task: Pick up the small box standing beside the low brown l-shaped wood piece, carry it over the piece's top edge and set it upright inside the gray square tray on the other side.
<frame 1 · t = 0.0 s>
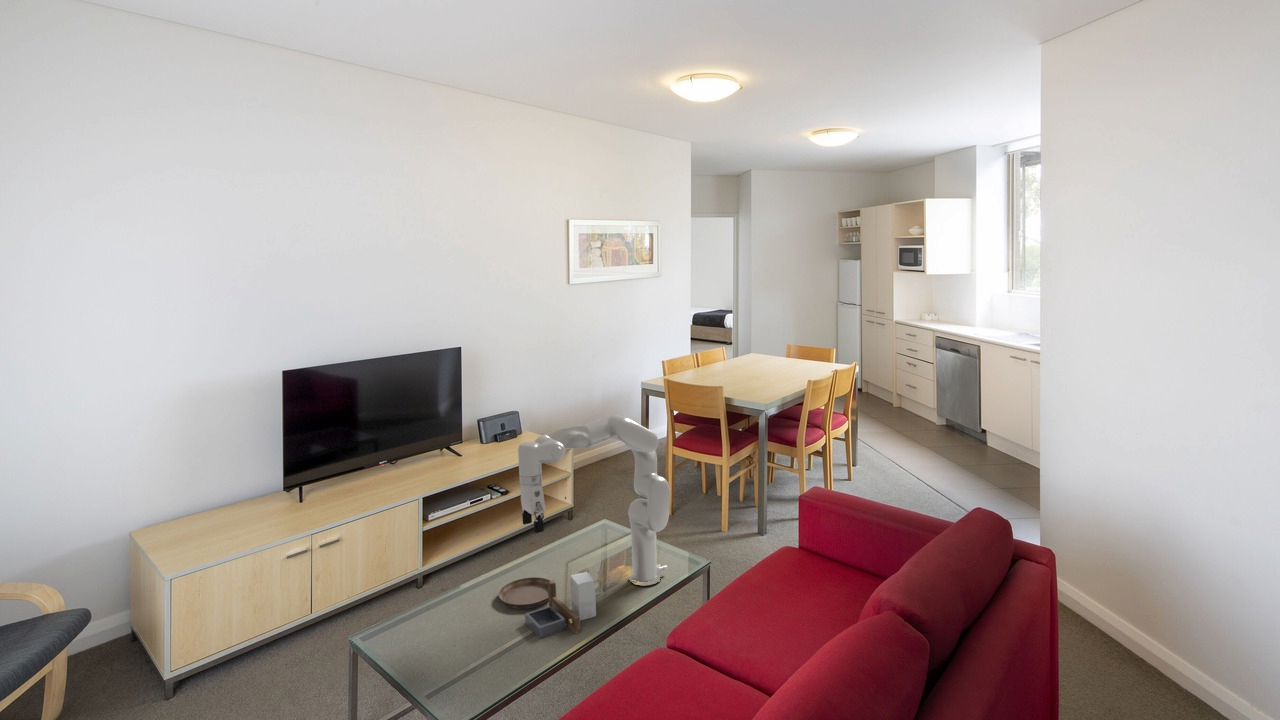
hand: (533, 527, 218), 31 cm above the table, fingers open, 9 cm apart
gray square tray: (545, 626, 213), on the table
brown l-shaped wood piece: (564, 620, 217), on the table
plant saucer: (527, 598, 234), on the table
small box: (583, 614, 221), on the table
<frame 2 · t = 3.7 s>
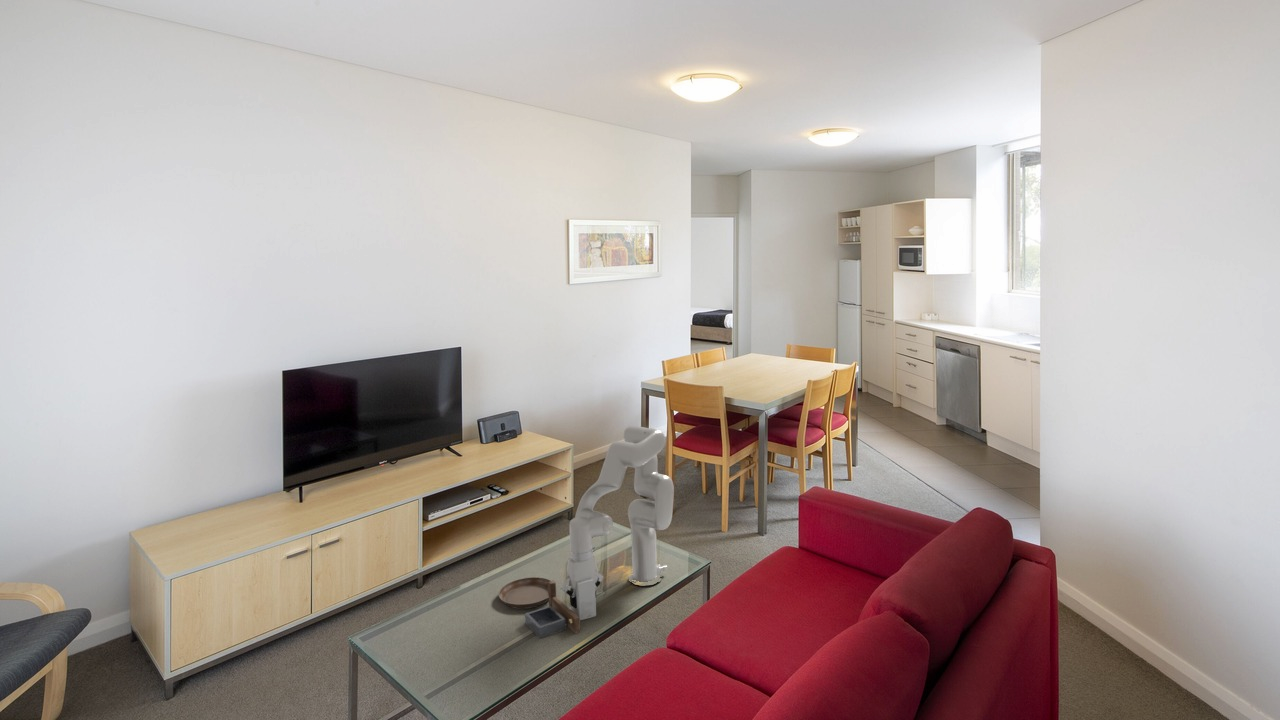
hand: (583, 603, 221), 4 cm above the table, fingers closed on small box, 6 cm apart
small box: (583, 614, 221), on the table, touching gripper
everything else where it was.
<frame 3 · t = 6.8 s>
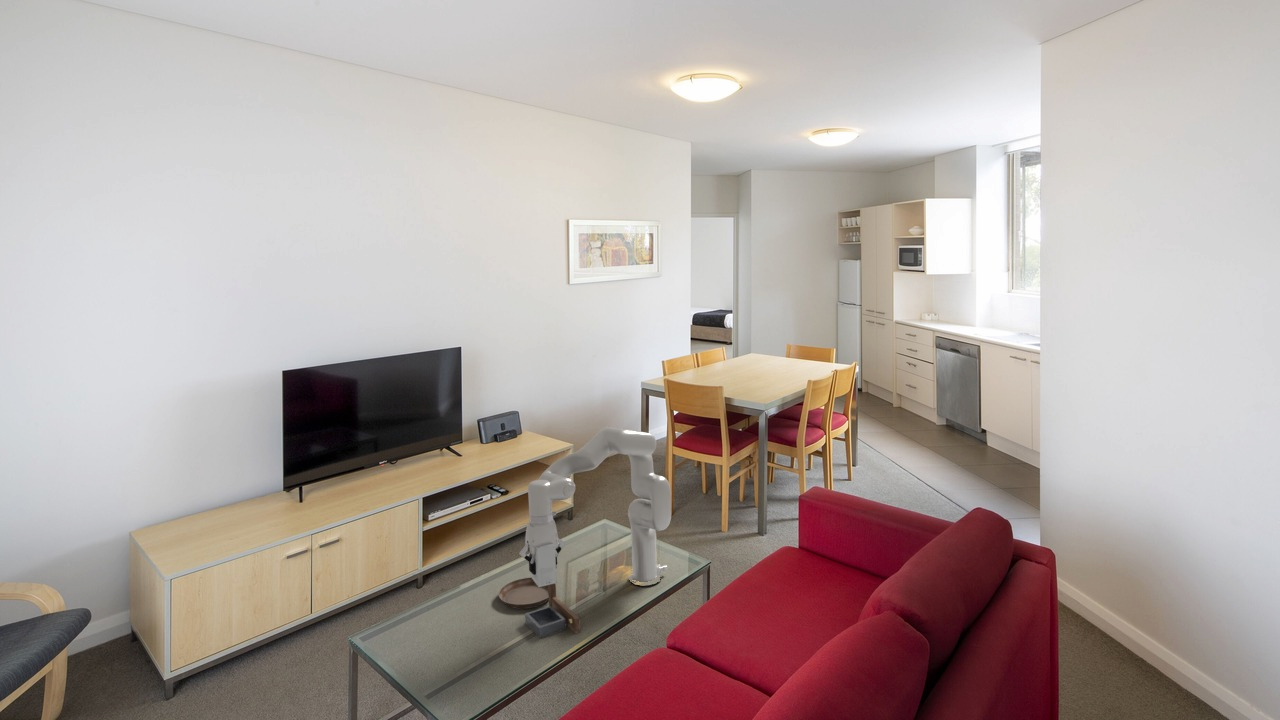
hand: (543, 569, 211), 20 cm above the table, fingers closed on small box, 6 cm apart
small box: (544, 581, 211), point 16 cm above the table, touching gripper
everything else where it was.
when the fingers open (5 cm above the table, at t = 10.3 s): small box drops 1 cm, resting on gray square tray.
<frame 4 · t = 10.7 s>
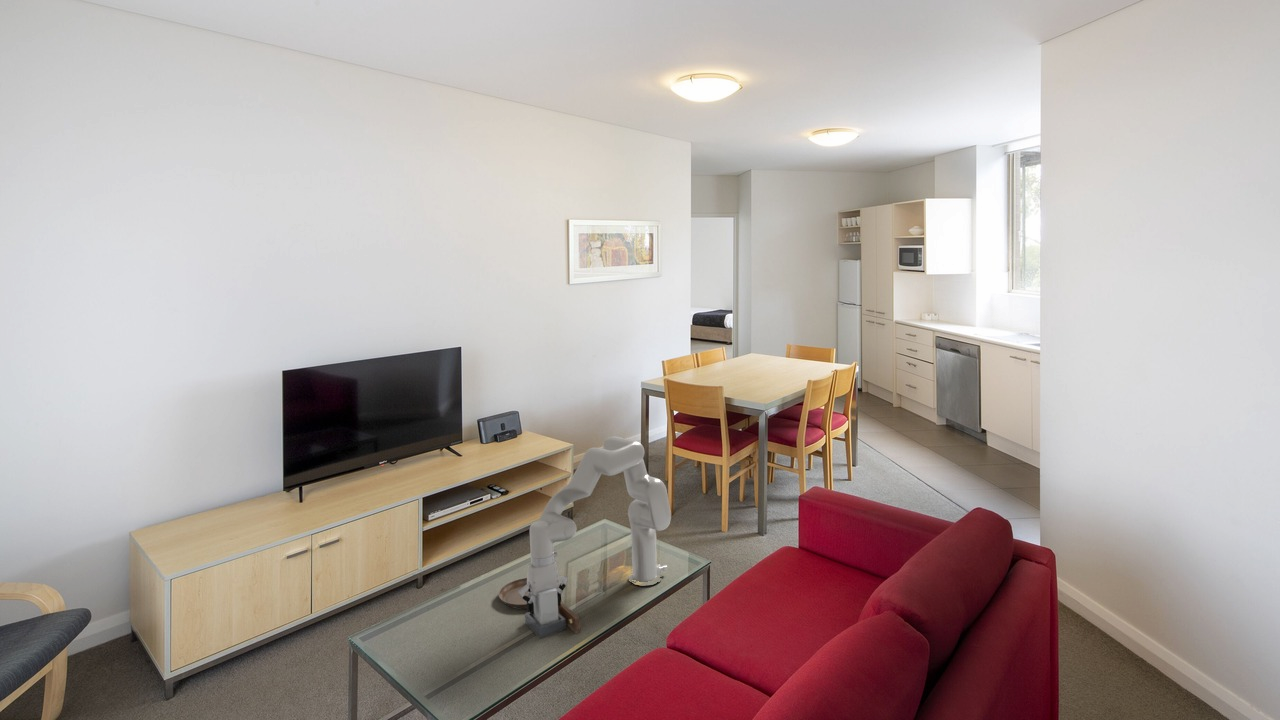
hand: (544, 608, 212), 6 cm above the table, fingers open, 9 cm apart
small box: (546, 625, 213), resting on gray square tray
everything else where it was.
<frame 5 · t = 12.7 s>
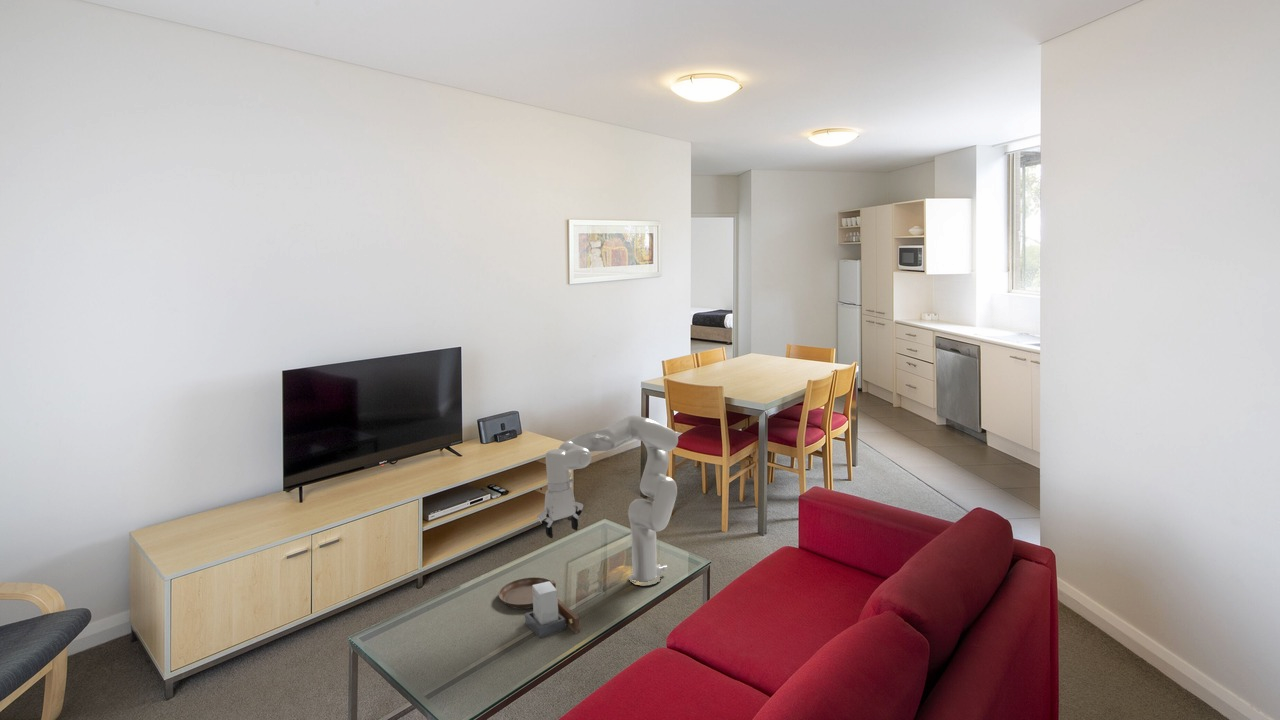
hand: (562, 533, 221), 28 cm above the table, fingers open, 9 cm apart
nothing on the table moved.
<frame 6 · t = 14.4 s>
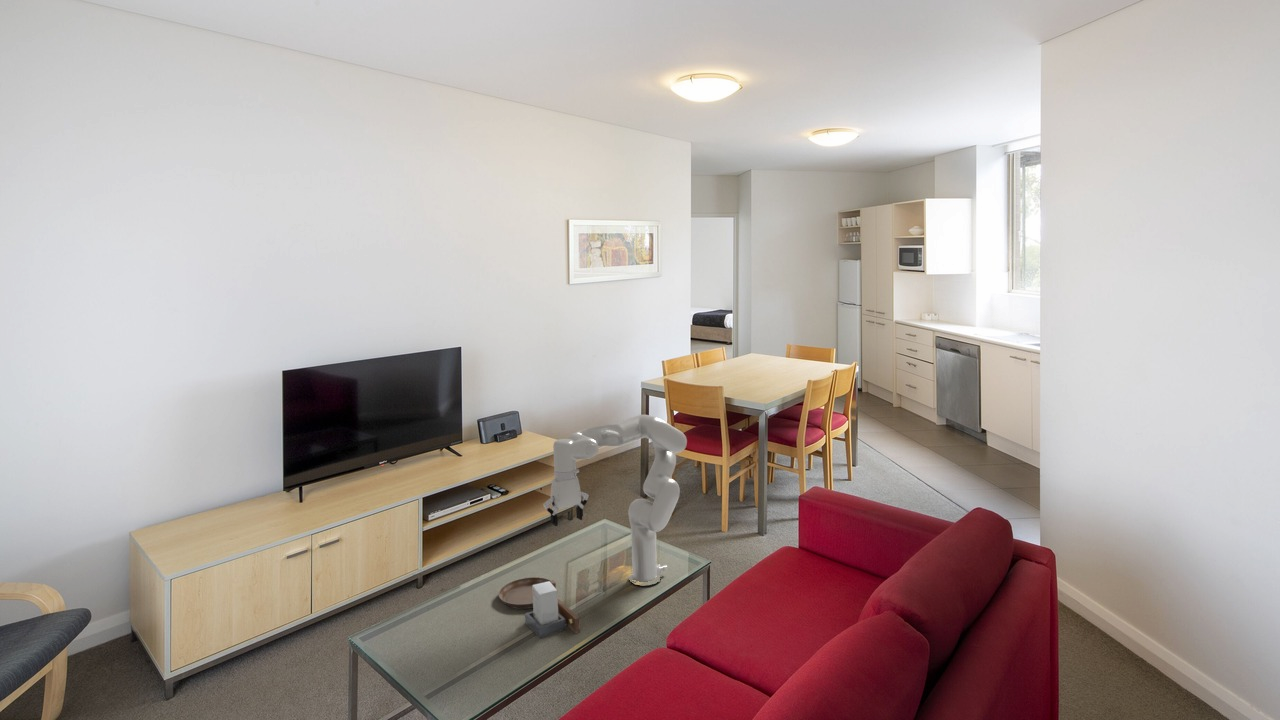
hand: (567, 521, 225), 30 cm above the table, fingers open, 9 cm apart
nothing on the table moved.
at the end: small box 0.3 cm off-centre on the gray square tray, point 0.3 cm above the gray square tray's base; small box tilted 0°; the gripper is holding nothing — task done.
